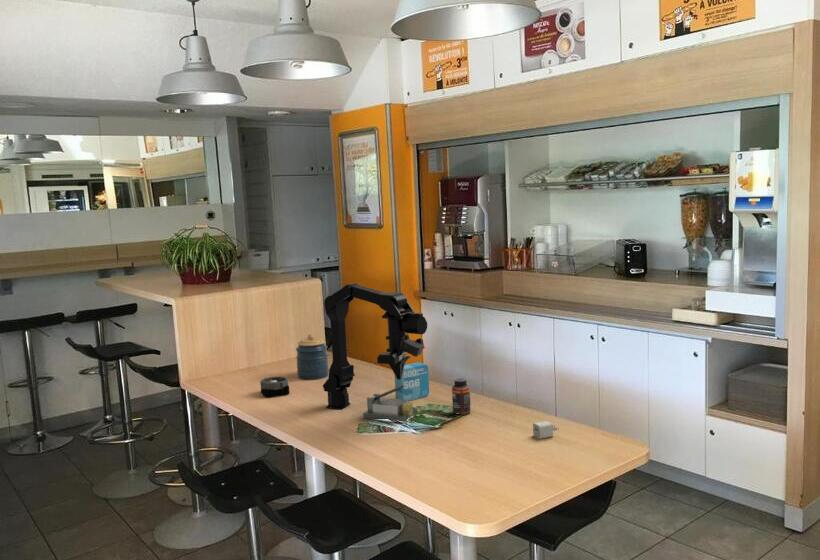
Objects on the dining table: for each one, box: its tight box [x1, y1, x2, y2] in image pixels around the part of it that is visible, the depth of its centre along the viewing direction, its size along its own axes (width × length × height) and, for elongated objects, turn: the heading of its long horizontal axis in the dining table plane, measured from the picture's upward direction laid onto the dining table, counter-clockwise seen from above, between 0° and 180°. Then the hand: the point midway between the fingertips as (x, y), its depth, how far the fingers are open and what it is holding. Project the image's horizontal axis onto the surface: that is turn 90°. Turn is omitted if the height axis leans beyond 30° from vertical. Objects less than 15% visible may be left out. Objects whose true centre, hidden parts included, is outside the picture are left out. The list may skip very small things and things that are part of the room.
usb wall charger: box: [532, 420, 560, 440], centre depth 211 cm, size 4×7×4 cm, turn 110°
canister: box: [295, 333, 330, 380], centre depth 292 cm, size 13×13×18 cm
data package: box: [394, 362, 430, 402], centre depth 255 cm, size 12×4×12 cm, turn 125°
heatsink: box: [362, 393, 418, 421], centre depth 235 cm, size 15×10×6 cm, turn 65°
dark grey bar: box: [371, 385, 403, 401], centre depth 235 cm, size 13×3×2 cm, turn 65°
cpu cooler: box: [259, 376, 290, 398], centre depth 269 cm, size 10×6×10 cm
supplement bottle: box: [451, 377, 472, 416], centre depth 236 cm, size 6×6×11 cm
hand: (399, 379), depth 232 cm, fingers closed
